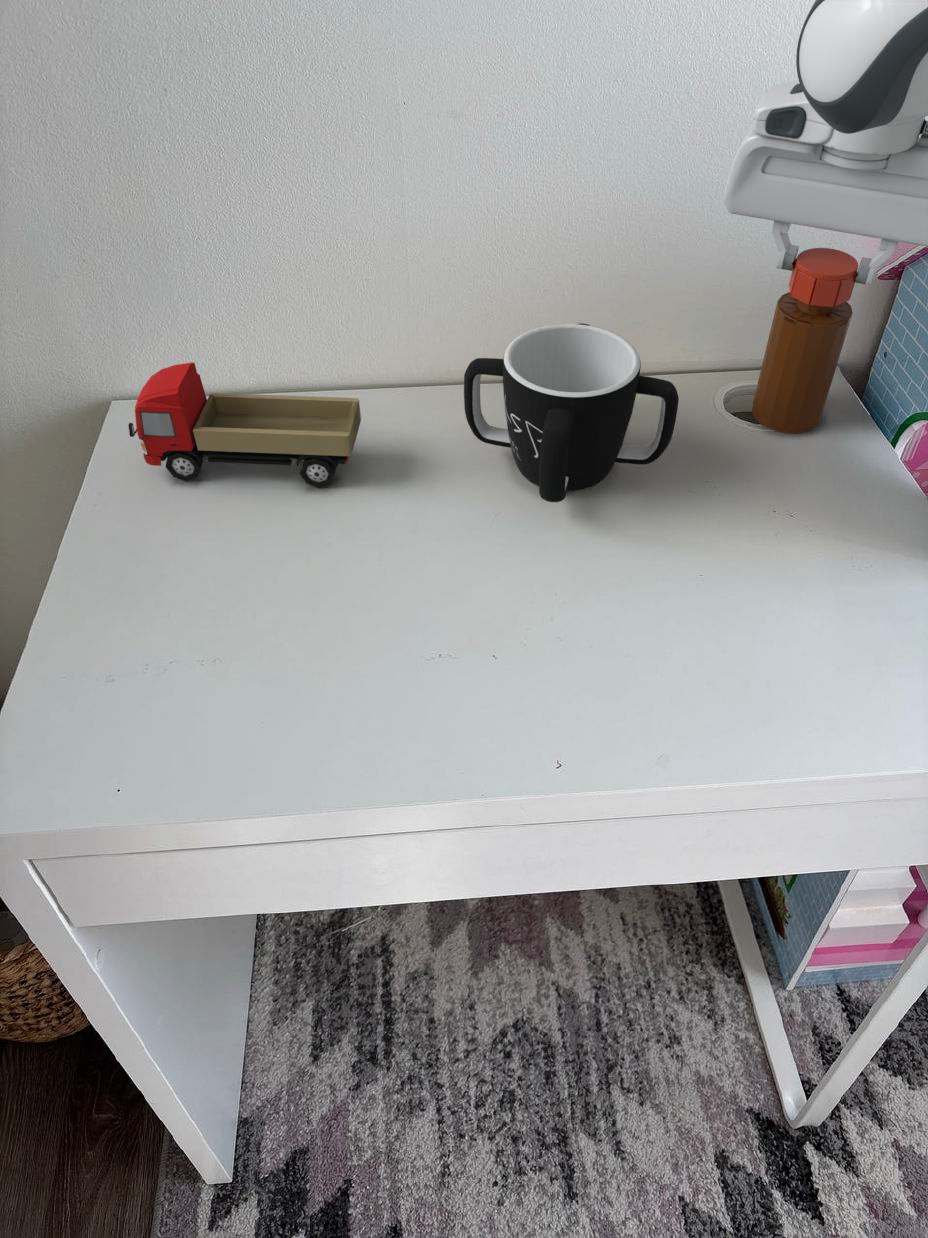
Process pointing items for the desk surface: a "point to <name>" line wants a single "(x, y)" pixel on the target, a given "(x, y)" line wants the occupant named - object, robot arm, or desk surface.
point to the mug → (569, 406)
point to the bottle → (799, 364)
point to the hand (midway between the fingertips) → (823, 274)
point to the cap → (823, 277)
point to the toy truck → (241, 427)
